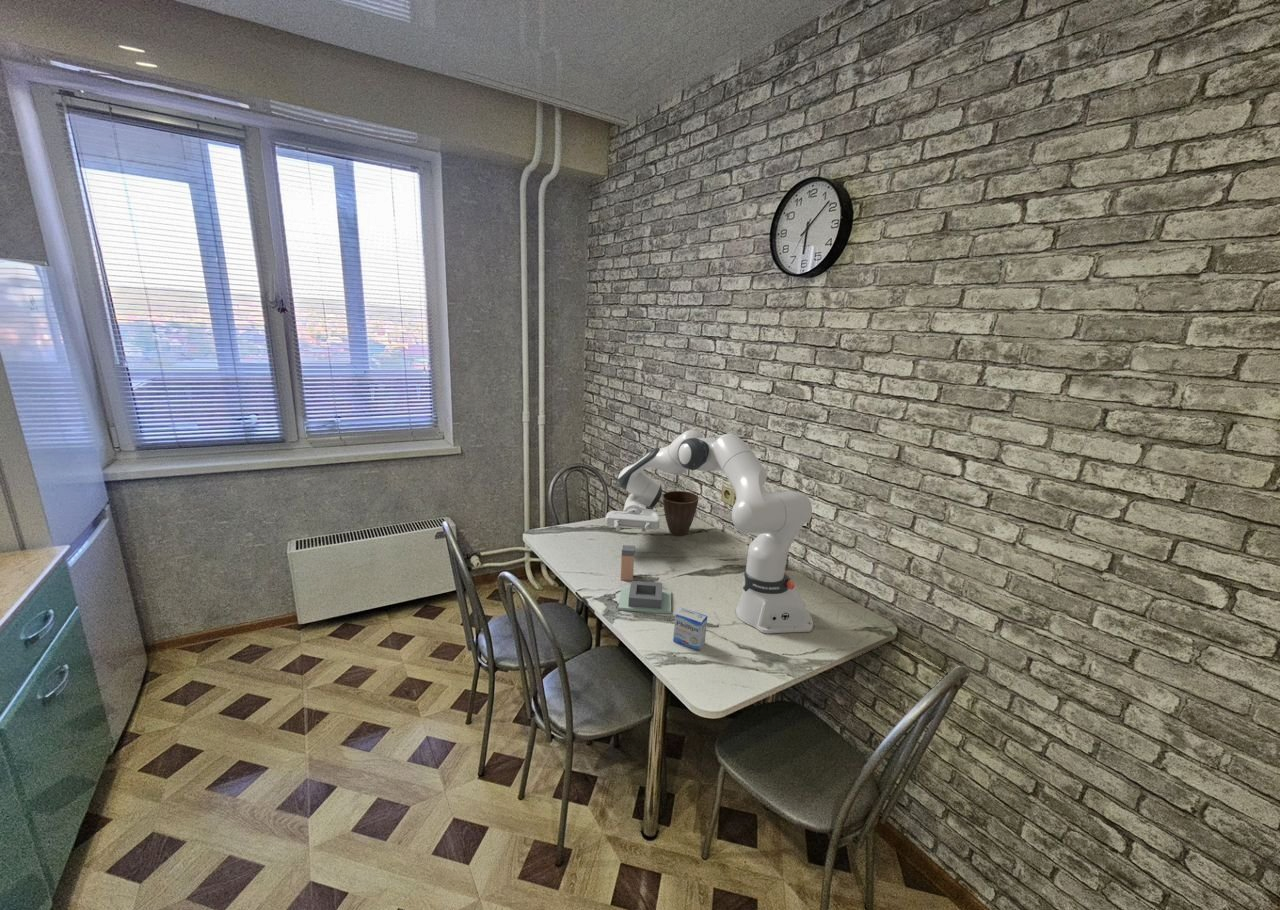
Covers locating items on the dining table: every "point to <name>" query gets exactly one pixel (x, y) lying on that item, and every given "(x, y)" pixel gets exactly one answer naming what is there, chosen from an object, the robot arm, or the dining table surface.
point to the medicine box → (690, 628)
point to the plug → (627, 562)
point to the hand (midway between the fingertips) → (631, 528)
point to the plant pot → (679, 511)
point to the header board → (664, 602)
